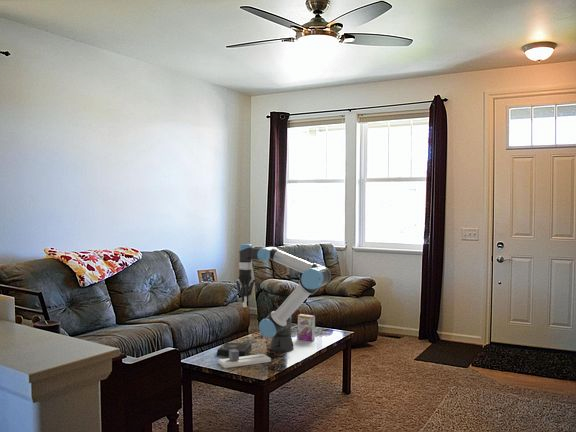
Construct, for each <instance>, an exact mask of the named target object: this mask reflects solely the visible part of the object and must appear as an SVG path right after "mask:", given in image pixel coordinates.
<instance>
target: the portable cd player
mask: <svg viewBox="0 0 576 432" xmlns="http://www.w3.org/2000/svg"><path fill="white" fill-rule="evenodd" d="M232 349H236V350H238V351H239V357H242V356H248V354H249V353H250V352H251V351H252V343H239V342H238V343H235V342H225V343H223V345H221V346H220V347H219V348H218V349H217V352H216V356H217V357H218V356H220V357H229V350H232Z"/></svg>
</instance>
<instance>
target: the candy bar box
mask: <svg viewBox="0 0 576 432" xmlns="http://www.w3.org/2000/svg"><path fill="white" fill-rule="evenodd" d="M296 325H297V327H296V328H297V329H296V330H297V331H296V333H297V334H296V339H297V340H300V341H308V342H313V341H315V339H316V338H315V337H316V336H315V334H316V316H315V315H312V314H303V313H299V314H297V323H296Z"/></svg>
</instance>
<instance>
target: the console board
mask: <svg viewBox="0 0 576 432" xmlns="http://www.w3.org/2000/svg"><path fill="white" fill-rule="evenodd" d="M271 362H272V358H271V357H270V356H268V355H266V354H265V353H258V354H251V355H246V356H242V357H239V360H237V361H231V360H230V359H229V357H227V358H220V359H218V364H219V365H220V366H222V367H223V368H224V369H228V368H234V367H235V368H237V367H242V366H250V365H255V364H257V365H258V364H264V363H271Z"/></svg>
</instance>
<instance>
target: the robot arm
mask: <svg viewBox="0 0 576 432" xmlns="http://www.w3.org/2000/svg"><path fill="white" fill-rule="evenodd" d="M252 246H253V245H252V244H251V243H241V244H240V245H239V252H238V253H239V256H238V257H239V261H238V262H239V263H238V268H239V270H238V275H239V276H238V279H235V280H234V282H235V284H236V288H237V292H238V296H240V298H241V302H242V307H243V308H247V307H248V306H247V305H248V303H247V302H249V297H250V296H252V292H253V288H254V284H255V282H256V279H253V277H252V261H253V260H254V261H261V262H264V261H265V262H266V261H268V260H271V261H273V262H275V263H278V264H280V265H283V266H285V267H287V268H290V269H292V270H295V271H297V272H299V273H301V278H300V279H299V280H298V285H297V286H296V288H294V290H293V291H292V292H291V293H290V294H289V295H288V296H287V297H286V299H285V300H284V301H283V302H282V304H281V305H279V307H278V308H277V309H276V310H273V311H271V312H270V313H269V314H268V315H267V316H266V318H263V319H262V320H260V321H259V324H258V328H259V333H260V334H261V336H263V337H264V338H266V339H270V342H269V345H268V346H269V350H270V351H272V352H273V351H274V352H280V353H281V352H282V353H283V352H290V351H293V350H294V346H295V345H294V341H293V339H292V315H293V314H294V313H295V312H296V311H297V310H298V309H299V308H300V306H301V305H302V304H303V303H304V302H305V301H306V299H307V298H309V296H310V295H314V294H316V293H317V291H318V290H319V289H320V288H322V287H323V286H326V285H328V284H329V282H330V281H331V278H332V274H331V271H330V269H329V268H328V267H327V266H324V265H321V264H319V263H316V262H314V263H311V262H310V261H307V260H305V259H302V258H299V257H297V256H294V255H292V254H289V253H287V252H285V251H282V250H279V249H278V248H277V247H276V246H266V247H265V246H264V247H252Z"/></svg>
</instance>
